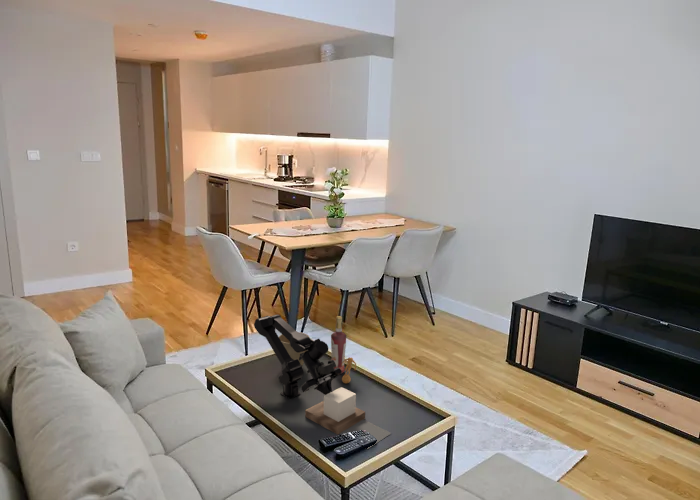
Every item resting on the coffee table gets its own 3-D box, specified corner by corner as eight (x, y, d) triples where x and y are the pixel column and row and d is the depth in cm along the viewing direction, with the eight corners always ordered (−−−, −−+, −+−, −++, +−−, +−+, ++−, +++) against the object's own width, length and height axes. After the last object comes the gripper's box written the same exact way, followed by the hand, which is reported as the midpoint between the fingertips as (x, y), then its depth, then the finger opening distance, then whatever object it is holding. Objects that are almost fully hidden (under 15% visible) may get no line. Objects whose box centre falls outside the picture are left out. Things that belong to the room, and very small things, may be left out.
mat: (339, 433, 194) (339, 433, 194) (363, 419, 204) (363, 419, 204) (367, 449, 185) (367, 448, 185) (391, 433, 195) (391, 433, 195)
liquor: (347, 374, 242) (349, 318, 236) (332, 376, 240) (334, 320, 234) (342, 368, 249) (343, 313, 243) (328, 370, 247) (329, 315, 240)
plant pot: (315, 369, 247) (315, 338, 243) (290, 378, 237) (290, 346, 234) (297, 359, 258) (297, 329, 254) (272, 367, 248) (272, 336, 245)
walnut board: (305, 416, 205) (305, 410, 204) (332, 402, 217) (333, 396, 216) (337, 434, 193) (337, 427, 193) (365, 418, 205) (365, 411, 204)
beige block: (323, 414, 202) (323, 395, 200) (340, 404, 209) (341, 387, 207) (338, 421, 197) (338, 403, 195) (355, 412, 204) (356, 393, 202)
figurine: (336, 381, 235) (337, 357, 233) (344, 377, 240) (345, 353, 237) (350, 387, 230) (351, 362, 228) (358, 382, 235) (359, 358, 232)
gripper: (306, 362, 198) (326, 398, 193) (339, 348, 211) (358, 382, 207) (292, 374, 205) (311, 409, 200) (325, 360, 218) (343, 393, 213)
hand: (332, 398), depth 205 cm, fingers closed, pressing on beige block
